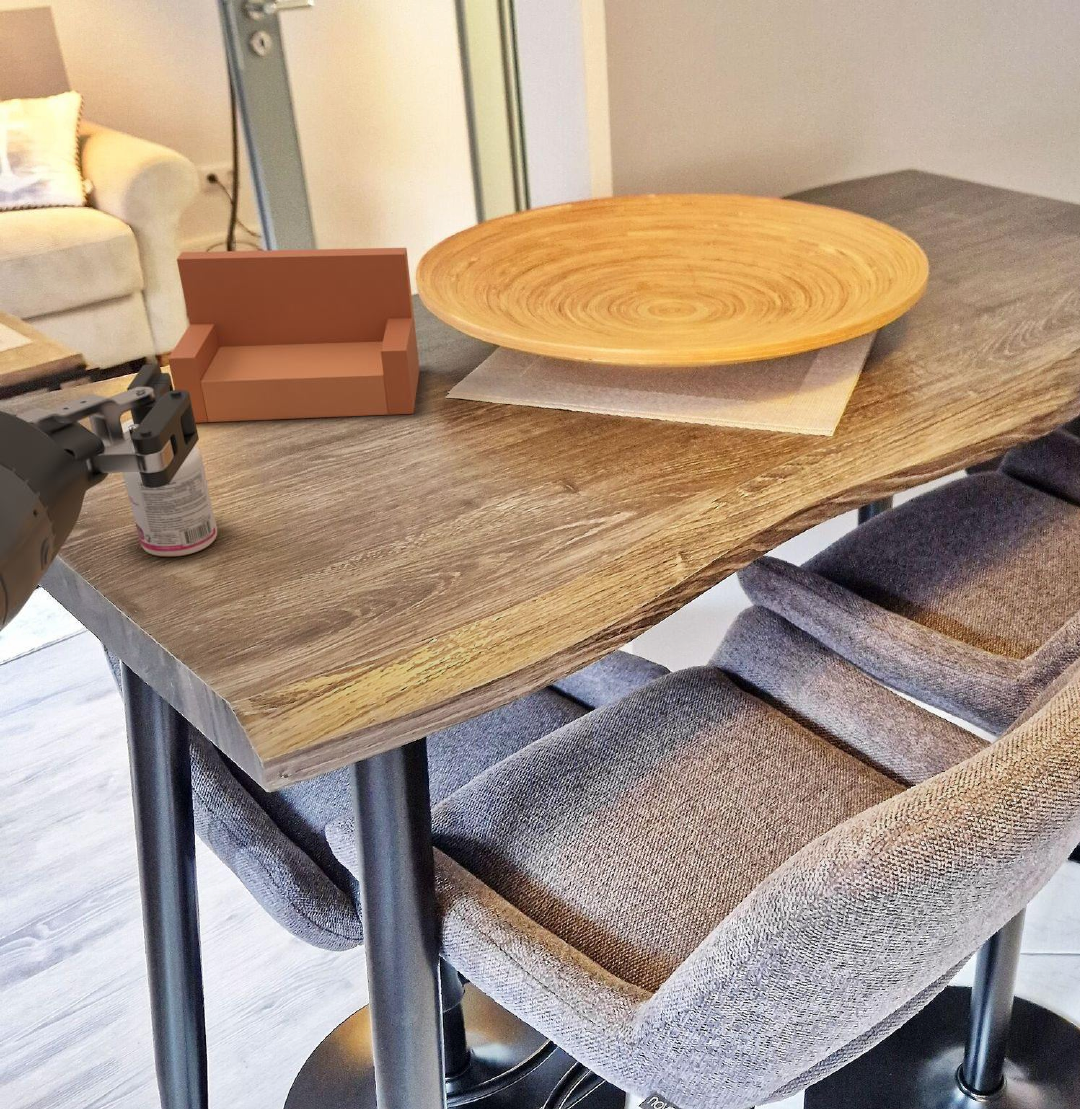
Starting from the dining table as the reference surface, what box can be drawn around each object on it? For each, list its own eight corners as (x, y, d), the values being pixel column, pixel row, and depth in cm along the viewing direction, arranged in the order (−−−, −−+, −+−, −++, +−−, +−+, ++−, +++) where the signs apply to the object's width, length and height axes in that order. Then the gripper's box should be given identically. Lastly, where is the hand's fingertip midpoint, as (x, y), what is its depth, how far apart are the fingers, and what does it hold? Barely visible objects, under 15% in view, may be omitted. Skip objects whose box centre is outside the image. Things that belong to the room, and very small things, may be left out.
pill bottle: (144, 529, 83) (116, 413, 78) (219, 520, 84) (196, 406, 80) (137, 563, 79) (107, 443, 75) (216, 553, 80) (192, 435, 76)
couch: (181, 423, 98) (152, 289, 92) (206, 377, 106) (181, 252, 101) (413, 413, 101) (398, 282, 95) (419, 369, 109) (406, 247, 104)
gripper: (116, 438, 49) (200, 310, 62) (-286, 457, 46) (-106, 320, 60) (156, 599, 52) (227, 445, 66) (-215, 625, 50) (-61, 459, 64)
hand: (68, 385), depth 63 cm, fingers open, 8 cm apart
